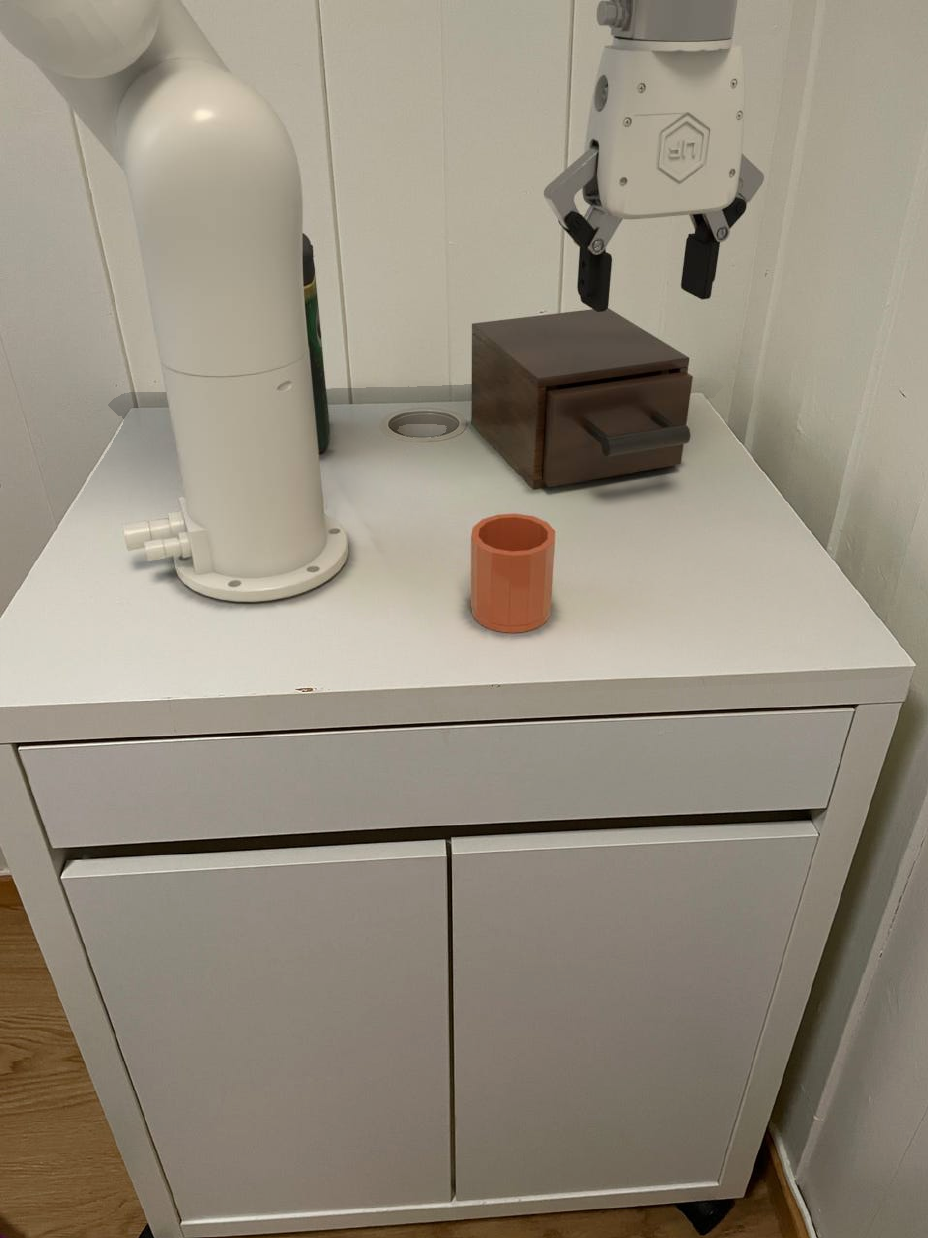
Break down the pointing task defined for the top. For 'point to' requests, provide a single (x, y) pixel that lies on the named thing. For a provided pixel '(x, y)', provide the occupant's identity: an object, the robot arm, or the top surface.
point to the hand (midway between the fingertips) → (645, 298)
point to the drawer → (615, 426)
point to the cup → (512, 572)
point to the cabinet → (550, 373)
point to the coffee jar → (315, 344)
